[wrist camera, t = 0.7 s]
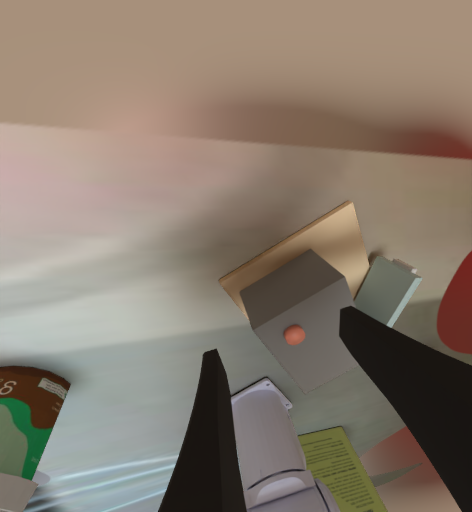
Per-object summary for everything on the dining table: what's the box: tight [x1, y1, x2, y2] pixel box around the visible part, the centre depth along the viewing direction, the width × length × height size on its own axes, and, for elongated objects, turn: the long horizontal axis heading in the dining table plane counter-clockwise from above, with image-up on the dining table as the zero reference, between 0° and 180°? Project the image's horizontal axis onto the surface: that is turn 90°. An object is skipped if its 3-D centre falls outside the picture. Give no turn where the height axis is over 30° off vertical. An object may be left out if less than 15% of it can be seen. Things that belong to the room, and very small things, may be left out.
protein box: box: [298, 427, 388, 512], centre depth 35 cm, size 10×15×16 cm
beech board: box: [219, 201, 370, 320], centre depth 24 cm, size 19×14×1 cm
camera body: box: [239, 249, 359, 394], centre depth 21 cm, size 13×8×6 cm, turn 30°
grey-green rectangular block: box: [354, 256, 422, 328], centre depth 22 cm, size 9×2×4 cm, turn 170°
